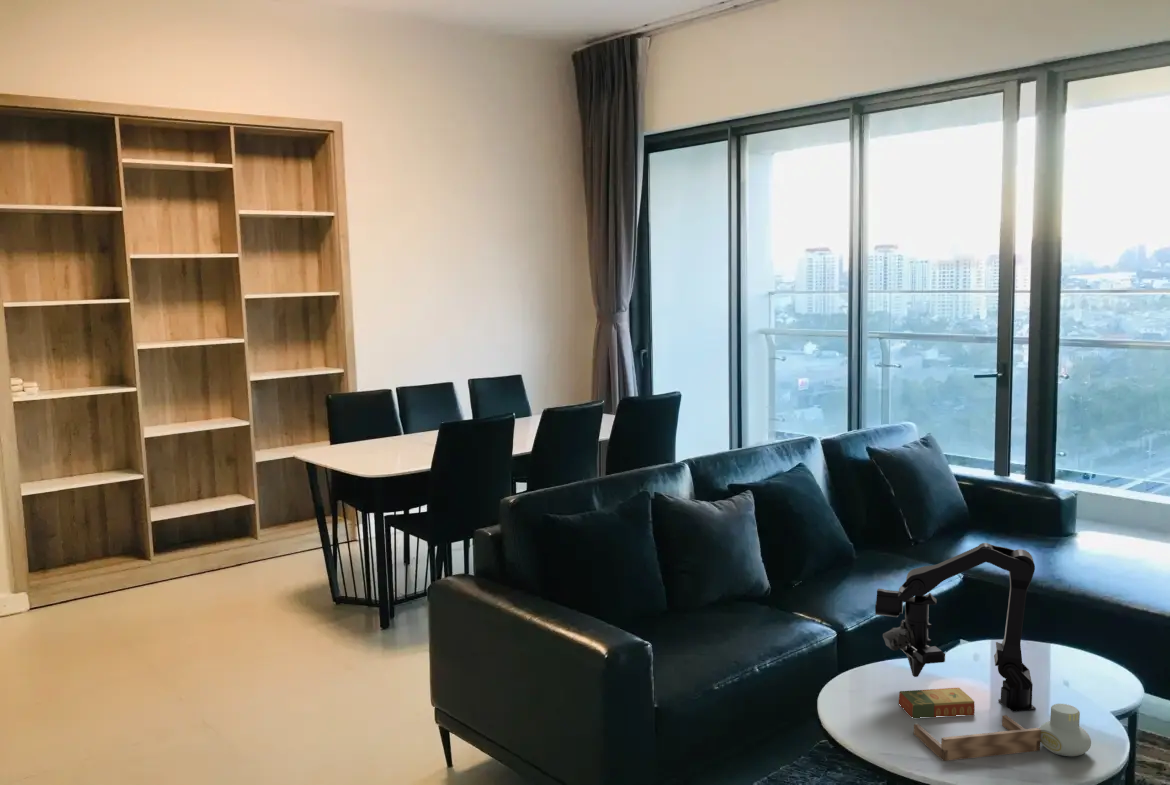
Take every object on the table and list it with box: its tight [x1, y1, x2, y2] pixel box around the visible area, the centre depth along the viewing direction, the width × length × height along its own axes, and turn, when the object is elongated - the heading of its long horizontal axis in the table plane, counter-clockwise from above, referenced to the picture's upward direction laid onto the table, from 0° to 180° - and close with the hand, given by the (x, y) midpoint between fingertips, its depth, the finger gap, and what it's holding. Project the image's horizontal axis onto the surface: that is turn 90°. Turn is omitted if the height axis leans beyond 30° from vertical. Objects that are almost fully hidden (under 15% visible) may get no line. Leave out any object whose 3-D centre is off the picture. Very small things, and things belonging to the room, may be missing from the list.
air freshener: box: [1038, 703, 1092, 757], centre depth 217 cm, size 11×8×10 cm
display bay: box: [913, 714, 1042, 762], centre depth 221 cm, size 24×13×5 cm, turn 100°
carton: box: [898, 687, 976, 719], centre depth 239 cm, size 8×16×4 cm, turn 95°
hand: (915, 676), depth 249 cm, fingers closed
